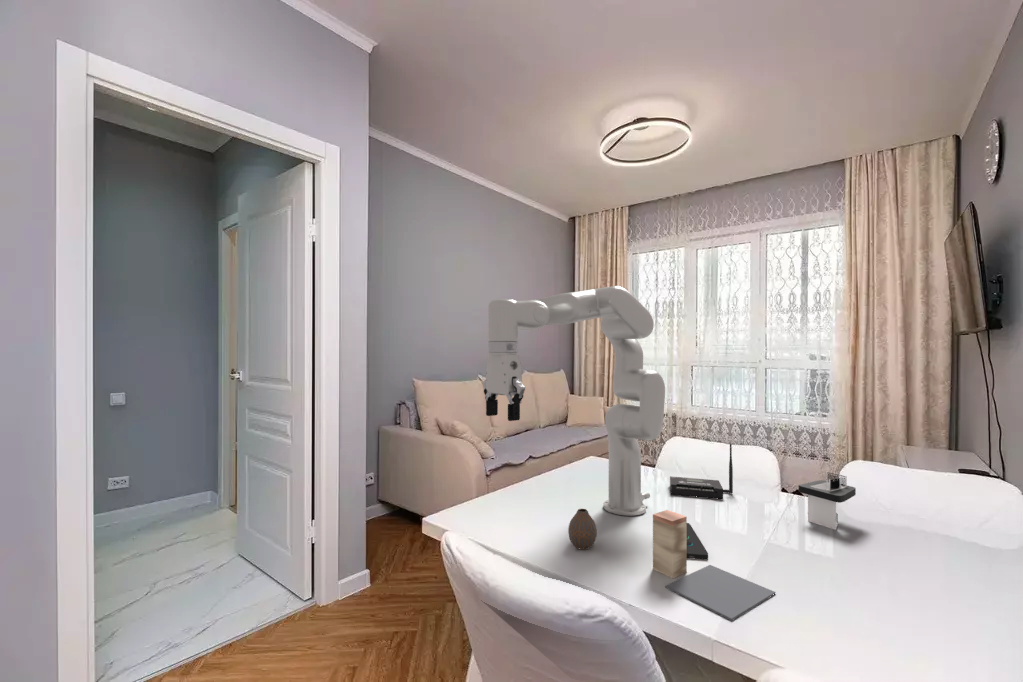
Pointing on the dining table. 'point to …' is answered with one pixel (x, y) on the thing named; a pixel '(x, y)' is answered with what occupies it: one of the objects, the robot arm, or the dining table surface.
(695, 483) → the black wifi router
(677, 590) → the mat
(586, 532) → the vase
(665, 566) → the maple block
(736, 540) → the dining table surface
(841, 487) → the black-topped pedestal
